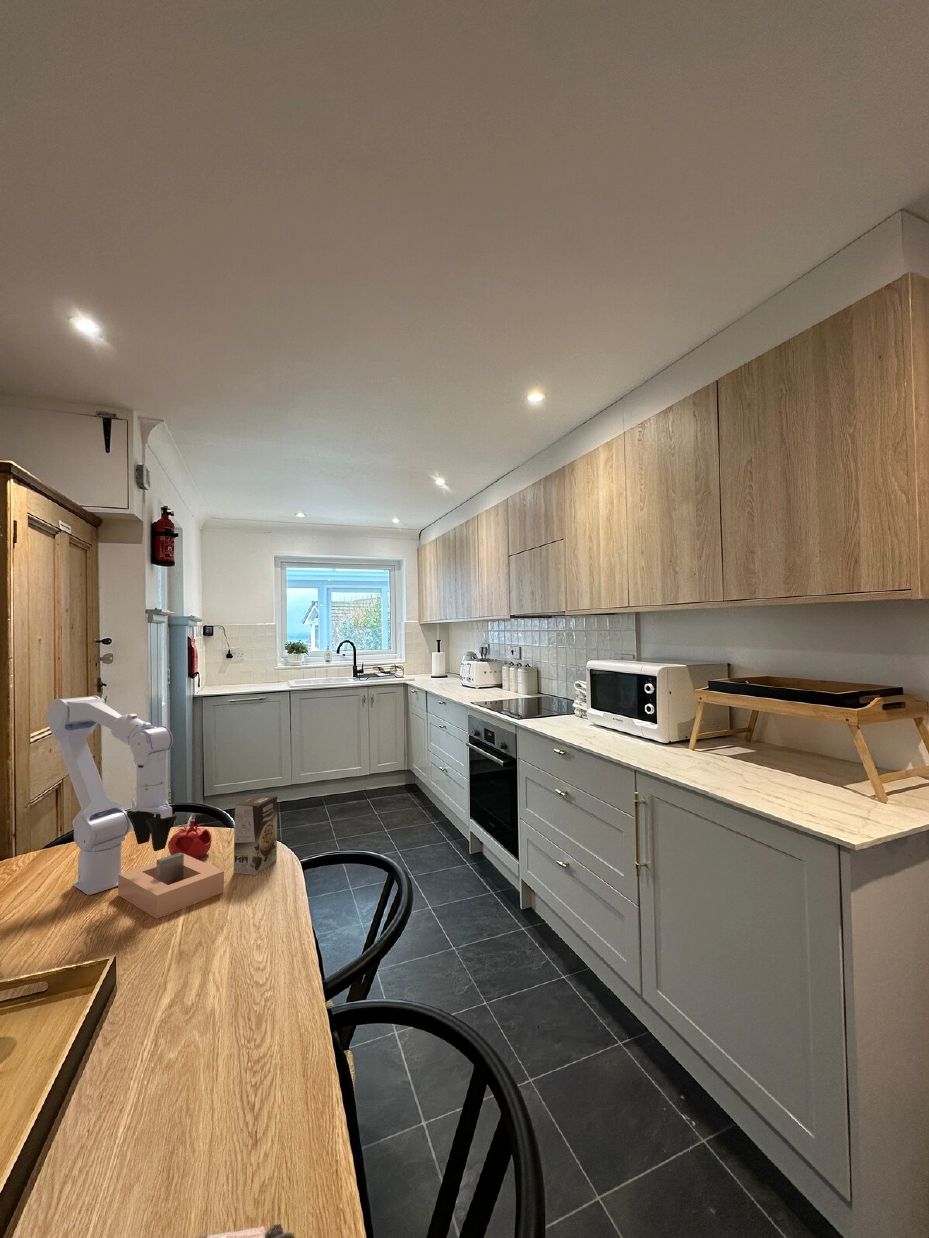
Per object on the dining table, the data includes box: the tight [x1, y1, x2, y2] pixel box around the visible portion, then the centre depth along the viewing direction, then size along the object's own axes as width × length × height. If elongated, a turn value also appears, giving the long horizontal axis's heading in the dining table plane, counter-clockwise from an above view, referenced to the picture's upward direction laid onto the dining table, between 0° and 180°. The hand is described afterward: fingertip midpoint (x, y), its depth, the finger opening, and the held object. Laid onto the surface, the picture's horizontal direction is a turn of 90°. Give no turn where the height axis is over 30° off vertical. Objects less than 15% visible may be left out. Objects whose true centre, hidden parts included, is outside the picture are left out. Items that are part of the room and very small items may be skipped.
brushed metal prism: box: [156, 853, 184, 885], centre depth 116 cm, size 4×5×8 cm
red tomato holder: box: [167, 819, 213, 860], centre depth 138 cm, size 10×10×9 cm
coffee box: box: [233, 795, 278, 876], centre depth 131 cm, size 9×6×16 cm
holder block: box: [117, 854, 225, 919], centre depth 117 cm, size 18×14×4 cm
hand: (151, 846), depth 117 cm, fingers open, 7 cm apart
